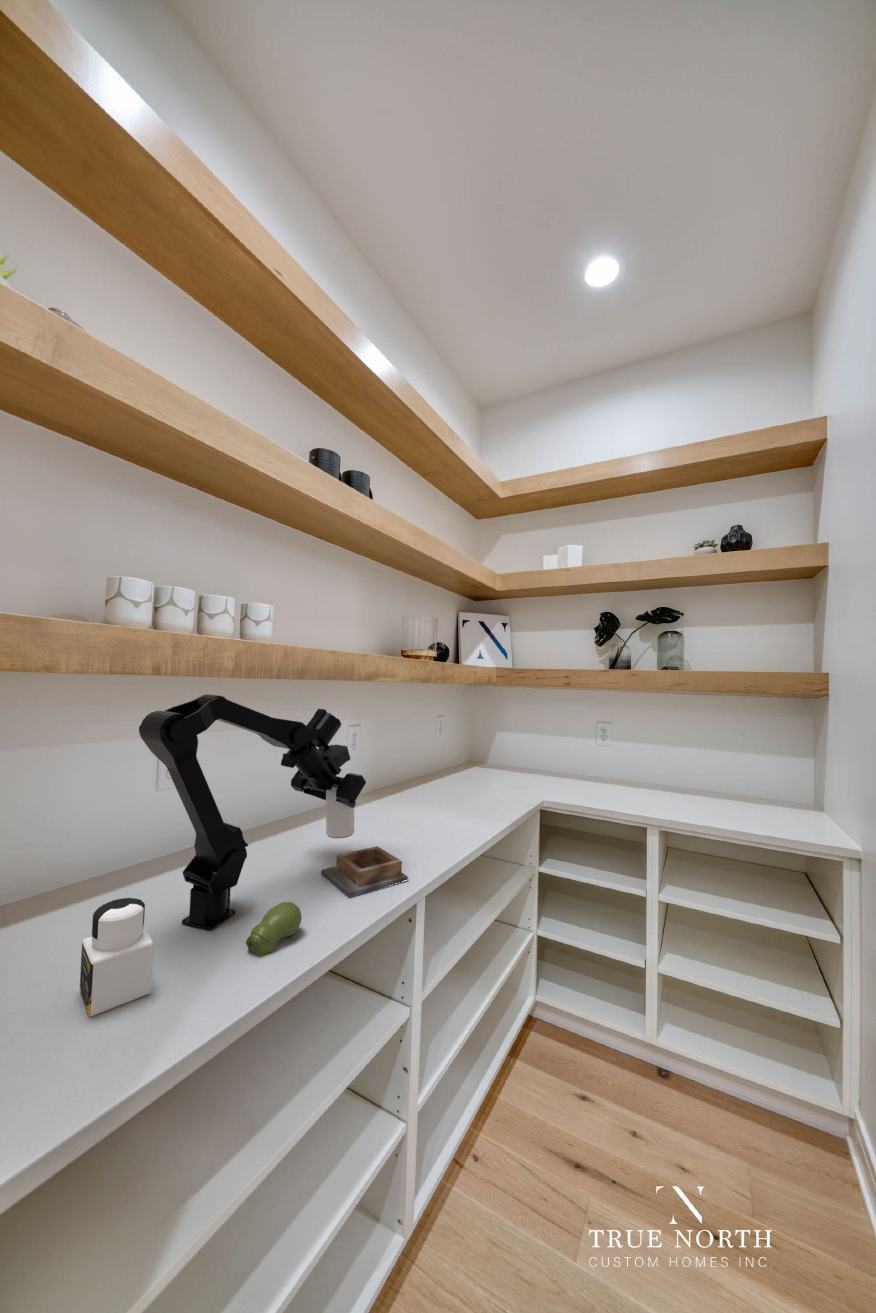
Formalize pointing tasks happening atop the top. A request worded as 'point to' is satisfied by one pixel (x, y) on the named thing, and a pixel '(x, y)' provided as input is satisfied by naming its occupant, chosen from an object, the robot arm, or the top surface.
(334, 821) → the can
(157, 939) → the top surface
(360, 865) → the socket holder
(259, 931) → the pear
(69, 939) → the top surface
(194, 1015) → the top surface
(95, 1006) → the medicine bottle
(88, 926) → the top surface
